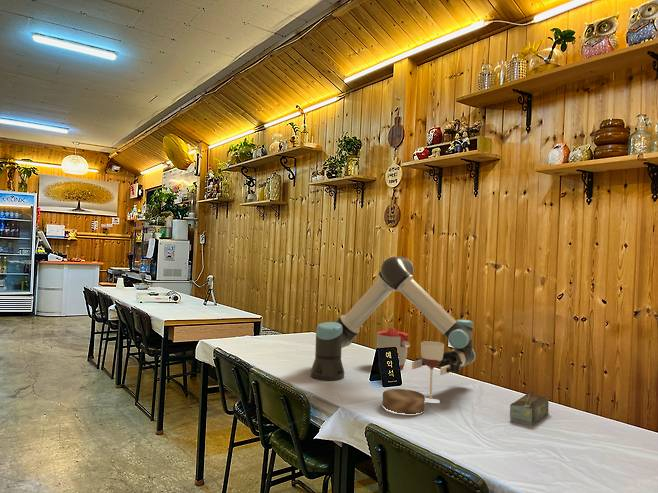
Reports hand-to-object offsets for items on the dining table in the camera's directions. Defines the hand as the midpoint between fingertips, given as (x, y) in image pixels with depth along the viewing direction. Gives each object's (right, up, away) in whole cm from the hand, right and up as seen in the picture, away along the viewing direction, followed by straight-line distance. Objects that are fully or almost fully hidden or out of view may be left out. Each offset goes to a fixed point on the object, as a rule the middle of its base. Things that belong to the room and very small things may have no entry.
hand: (426, 368), depth 185 cm
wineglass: (+2, -13, +3) cm, 14 cm away
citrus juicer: (-6, -14, +54) cm, 56 cm away
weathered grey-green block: (+34, -15, -12) cm, 39 cm away
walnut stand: (-10, -13, -8) cm, 18 cm away
